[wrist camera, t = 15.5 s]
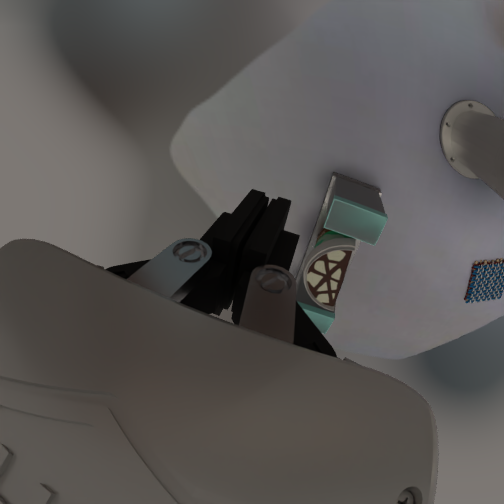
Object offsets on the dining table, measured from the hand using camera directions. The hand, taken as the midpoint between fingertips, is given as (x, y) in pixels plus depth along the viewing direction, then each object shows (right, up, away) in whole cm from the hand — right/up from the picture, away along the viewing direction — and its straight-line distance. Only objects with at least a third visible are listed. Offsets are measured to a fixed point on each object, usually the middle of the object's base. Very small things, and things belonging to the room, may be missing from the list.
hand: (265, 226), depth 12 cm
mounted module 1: (+12, -7, +39) cm, 41 cm away
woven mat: (+48, -6, +28) cm, 56 cm away
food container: (+12, +1, +34) cm, 36 cm away
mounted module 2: (+15, +7, +28) cm, 32 cm away
